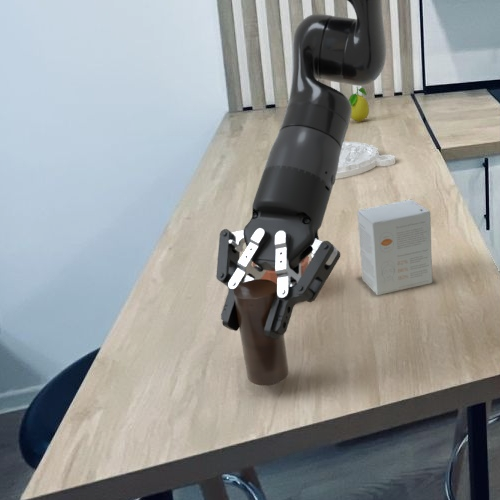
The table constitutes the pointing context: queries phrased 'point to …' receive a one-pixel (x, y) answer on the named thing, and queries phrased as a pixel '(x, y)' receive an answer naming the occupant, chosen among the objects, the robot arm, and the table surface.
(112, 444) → the table surface
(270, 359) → the peg
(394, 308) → the table surface
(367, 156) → the medallion
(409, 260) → the small box
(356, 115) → the lemon
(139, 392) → the table surface
